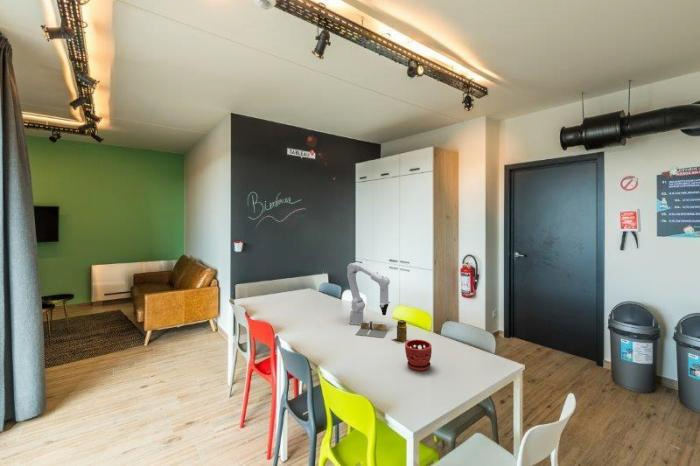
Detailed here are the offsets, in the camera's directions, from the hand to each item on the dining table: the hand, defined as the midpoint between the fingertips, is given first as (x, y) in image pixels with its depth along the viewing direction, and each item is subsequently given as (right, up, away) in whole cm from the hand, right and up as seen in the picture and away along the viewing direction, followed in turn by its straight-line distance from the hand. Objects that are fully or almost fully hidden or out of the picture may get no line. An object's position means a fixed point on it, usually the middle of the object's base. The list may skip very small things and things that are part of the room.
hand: (384, 314), depth 221 cm
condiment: (+8, -11, -21) cm, 25 cm away
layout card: (-9, -10, -7) cm, 15 cm away
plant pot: (+11, -12, -57) cm, 59 cm away
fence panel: (-3, -9, -4) cm, 11 cm away
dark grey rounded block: (-12, -9, -1) cm, 15 cm away
